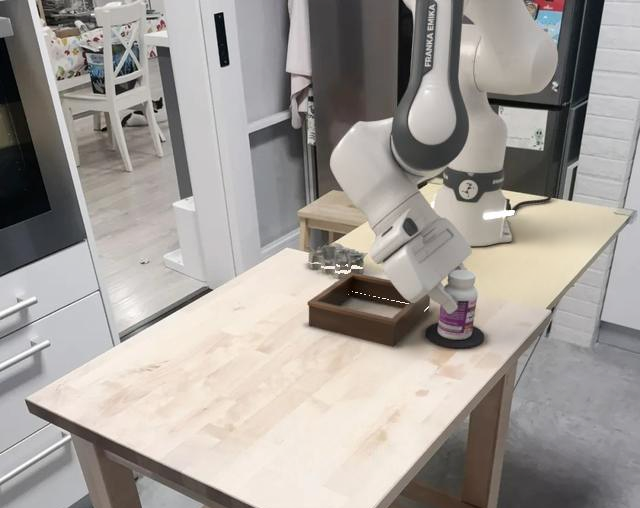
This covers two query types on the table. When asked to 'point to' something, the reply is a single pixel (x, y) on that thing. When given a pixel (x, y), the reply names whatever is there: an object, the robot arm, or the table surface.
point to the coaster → (469, 342)
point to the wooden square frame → (362, 324)
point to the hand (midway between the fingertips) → (462, 302)
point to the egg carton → (336, 259)
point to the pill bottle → (462, 318)
